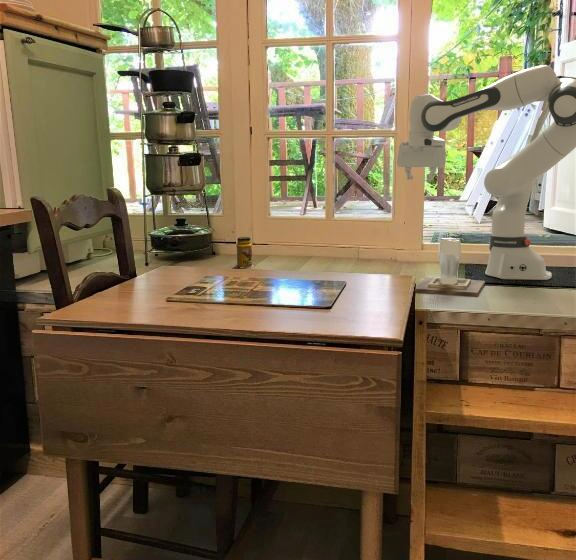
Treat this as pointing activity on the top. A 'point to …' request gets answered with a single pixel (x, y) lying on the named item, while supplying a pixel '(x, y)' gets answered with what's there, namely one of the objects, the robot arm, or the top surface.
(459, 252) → the beer glass
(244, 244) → the condiment
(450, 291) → the walnut board
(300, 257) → the top surface
